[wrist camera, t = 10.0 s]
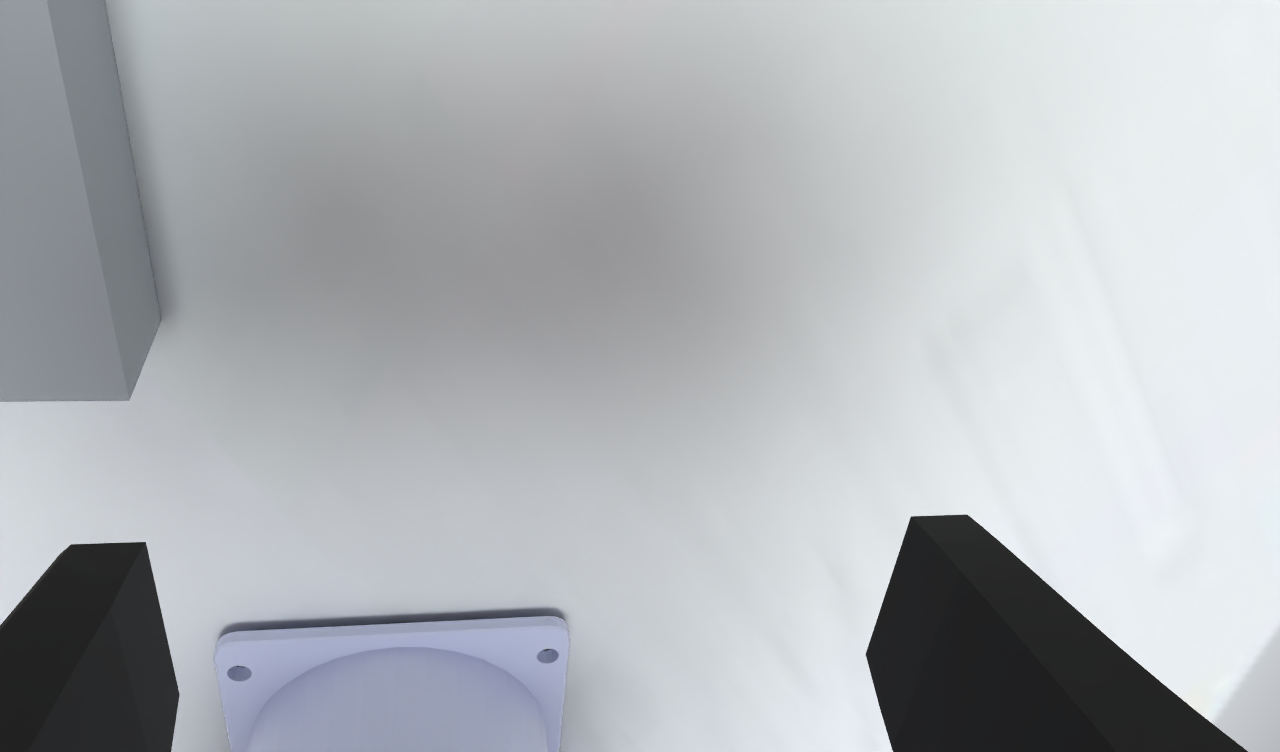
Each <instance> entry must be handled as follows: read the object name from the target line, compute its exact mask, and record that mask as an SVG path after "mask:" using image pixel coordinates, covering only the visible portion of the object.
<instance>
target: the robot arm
mask: <svg viewBox="0 0 1280 752" xmlns="http://www.w3.org/2000/svg"><path fill="white" fill-rule="evenodd" d="M569 642H570V637H569V630H568V625H567V623H566V622H565V621H564V620H563V619H561V618H558V617H555V616H537V617H517V618H496V619H476V620H456V621H436V622H416V623H395V624H375V625H355V626H335V627H315V628H294V629H274V630H254V631H236V632H231V633H227V634H225V635H223V636H222V637H220V639H219V640H218V641H217V643H216V648H215V652H214V662H215V668H216V673H217V679H218V684H219V689H220V695H221V700H222V706H223V711H224V717H225V722H226V727H227V733H228V738H229V744H230V749H231V752H559V751H560V740H561V729H562V718H563V707H564V697H565V686H566V675H567V664H568V653H569ZM544 649H552V650H548V651H543V650H544ZM866 657H867V661H868V664H869V668H870V672H871V676H872V680H873V683H874V687H875V691H876V695H877V698H878V702H879V706H880V709H881V713H882V716H883V720H884V723H885V726H886V730H887V733H888V736H889V740H890V743H891V747H892V750H893V752H1248V751H1246V750H1245V749H1244V748H1243V747H1241V746H1240V745H1239V744H1237V743H1236V742H1235V741H1234V740H1232V739H1231V738H1230V737H1228V736H1227V735H1226V734H1224V733H1223V732H1222V731H1221V730H1219V729H1218V728H1217V727H1216V726H1214V725H1213V724H1212V723H1211V722H1209V721H1208V720H1207V719H1205V718H1204V717H1203V716H1202V715H1200V714H1199V713H1198V712H1197V711H1195V710H1194V709H1193V708H1192V707H1190V706H1189V705H1188V704H1187V703H1186V702H1184V701H1183V700H1182V699H1181V698H1179V697H1178V696H1177V695H1176V694H1175V693H1173V692H1172V691H1171V690H1170V689H1168V688H1167V687H1166V686H1165V685H1164V684H1162V683H1161V682H1160V681H1159V680H1158V679H1156V678H1155V677H1154V676H1153V675H1152V674H1150V673H1149V672H1148V671H1147V670H1146V669H1144V668H1143V667H1142V666H1141V665H1140V664H1138V663H1137V662H1136V661H1135V660H1134V659H1133V658H1131V657H1130V656H1129V655H1128V654H1127V653H1126V652H1124V651H1123V650H1122V649H1121V648H1120V647H1119V646H1117V645H1116V644H1115V643H1114V642H1113V641H1112V640H1110V639H1109V638H1108V637H1107V636H1106V635H1105V634H1104V633H1102V632H1101V631H1100V630H1099V629H1098V628H1097V627H1096V626H1094V625H1093V624H1092V623H1091V622H1090V621H1089V620H1088V619H1086V618H1085V617H1084V616H1083V615H1082V614H1081V613H1080V612H1078V611H1077V610H1076V609H1075V608H1074V607H1073V606H1072V605H1071V604H1069V603H1068V602H1067V601H1066V600H1065V599H1064V598H1063V597H1062V596H1060V595H1059V594H1058V593H1057V592H1056V591H1055V590H1054V589H1052V588H1051V587H1050V586H1049V585H1048V584H1047V583H1046V582H1045V581H1043V580H1042V579H1041V578H1040V577H1039V576H1038V575H1037V574H1036V573H1034V572H1033V571H1032V570H1031V569H1030V568H1029V567H1028V566H1027V565H1025V564H1024V563H1023V562H1022V561H1021V560H1020V559H1019V558H1018V557H1016V556H1015V555H1014V554H1013V553H1012V552H1011V551H1010V550H1008V549H1007V548H1006V547H1005V546H1004V545H1003V544H1002V543H1000V542H999V541H998V540H997V539H996V538H995V537H993V536H992V535H991V534H990V533H989V532H988V531H986V530H985V529H984V528H983V527H982V526H980V525H979V524H978V523H977V522H976V521H974V520H973V519H972V518H971V517H969V516H968V515H944V516H914V517H911V518H910V521H909V524H908V528H907V531H906V534H905V537H904V540H903V543H902V546H901V549H900V552H899V555H898V558H897V561H896V564H895V567H894V570H893V573H892V576H891V579H890V582H889V585H888V588H887V591H886V594H885V597H884V600H883V603H882V607H881V610H880V613H879V616H878V619H877V622H876V625H875V628H874V631H873V634H872V637H871V640H870V643H869V646H868V649H867V652H866ZM236 666H245V668H241V667H236ZM178 700H179V691H178V686H177V681H176V677H175V672H174V668H173V663H172V659H171V654H170V650H169V645H168V641H167V636H166V632H165V627H164V623H163V618H162V614H161V609H160V605H159V600H158V596H157V591H156V586H155V582H154V577H153V573H152V568H151V564H150V559H149V555H148V550H147V546H146V542H134V543H104V544H74V545H70V546H69V547H68V548H67V549H66V550H64V551H63V552H62V553H61V554H60V555H59V556H58V557H57V558H56V560H55V561H54V562H53V563H52V564H51V566H50V567H49V568H48V569H47V570H46V572H45V573H44V574H43V575H42V576H41V578H40V579H39V580H38V581H37V582H36V584H35V585H34V586H33V587H32V588H31V590H30V591H29V592H28V593H27V594H26V596H25V597H24V598H23V599H22V600H21V602H20V603H19V604H18V605H17V606H16V608H15V609H14V610H13V611H12V612H11V614H10V615H9V616H8V617H7V618H6V619H5V621H4V622H3V623H2V624H1V625H0V752H171V747H172V741H173V734H174V727H175V721H176V714H177V707H178Z"/></svg>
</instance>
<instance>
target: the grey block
mask: <svg viewBox="0 0 1280 752" xmlns="http://www.w3.org/2000/svg"><path fill="white" fill-rule="evenodd" d="M160 322H161V316H160V311H159V305H158V299H157V294H156V288H155V282H154V276H153V271H152V265H151V259H150V254H149V248H148V242H147V237H146V231H145V225H144V220H143V214H142V208H141V203H140V197H139V191H138V185H137V180H136V174H135V168H134V163H133V157H132V151H131V146H130V140H129V134H128V129H127V123H126V117H125V112H124V106H123V100H122V95H121V89H120V83H119V77H118V72H117V66H116V60H115V55H114V49H113V43H112V38H111V32H110V26H109V21H108V15H107V9H106V4H105V0H0V402H12V401H123V400H130V397H131V395H132V392H133V390H134V387H135V385H136V382H137V380H138V377H139V375H140V372H141V370H142V367H143V365H144V362H145V360H146V357H147V355H148V352H149V350H150V347H151V345H152V342H153V340H154V337H155V335H156V332H157V330H158V327H159V325H160Z"/></svg>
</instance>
